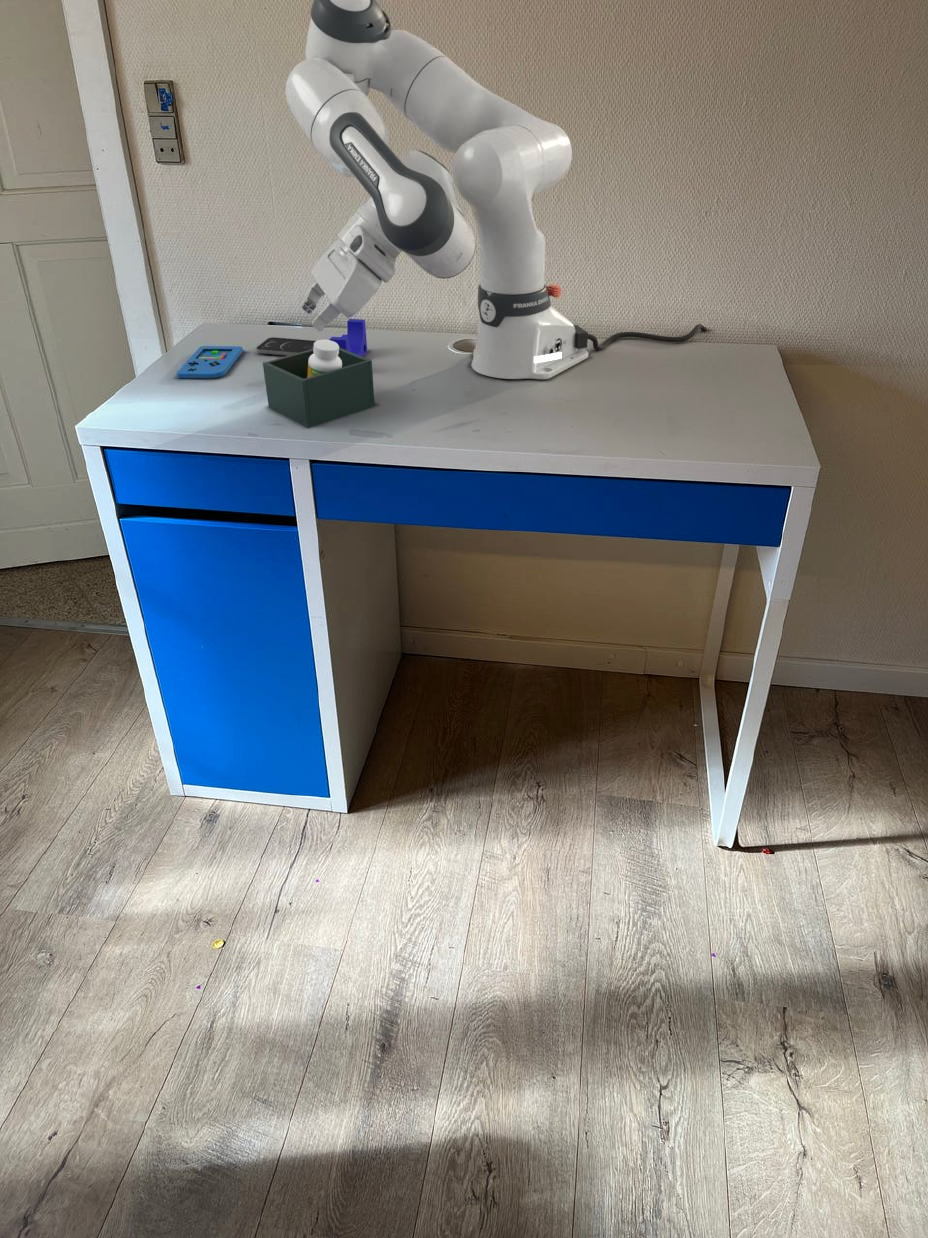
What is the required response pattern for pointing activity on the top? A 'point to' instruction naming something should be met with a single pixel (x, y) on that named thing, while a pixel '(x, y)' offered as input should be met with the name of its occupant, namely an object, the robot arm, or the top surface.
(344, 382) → the bin
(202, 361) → the handheld gaming device
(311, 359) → the supplement bottle
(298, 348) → the smartphone
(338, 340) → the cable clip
